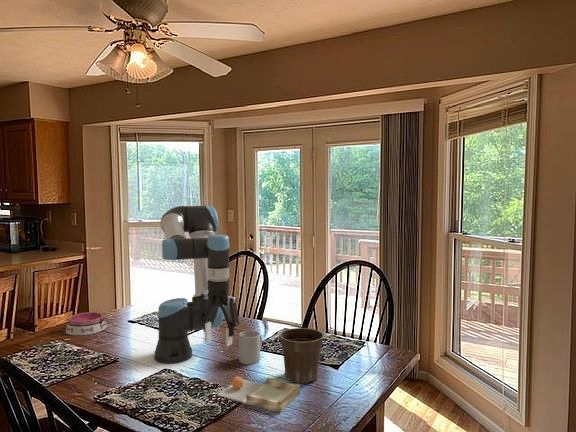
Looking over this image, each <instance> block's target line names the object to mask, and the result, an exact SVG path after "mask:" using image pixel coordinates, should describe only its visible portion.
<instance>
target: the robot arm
mask: <svg viewBox="0 0 576 432" xmlns="http://www.w3.org/2000/svg"><path fill="white" fill-rule="evenodd" d="M159 223H160V228H161V230H162V232H163V233H164V237H165V238H164V239H162V242H161V257H162V260H166V261H178V260H180V261H181V260H193V271H194V288H195V289H194V291H195V293H194V294H193V296H192V298H191V301H188V299H187V298H185V297H179V298H177V297H176V298H171V299H168V300H165V301H163V302H161V303H160V304H159V306H158V312H157V313H158V314H157V317H158V340H157V343H156V347H155V350H154V353H153V355H154V360H155V361H156V362H157V363H158V362H159V363H163V364H178V363H183V362H186V361H188V360H189V359H191V358H192V357H193V349H192V346H191V344H190V340H189V335H188V333H189V332H188V331H199V330H200V331H201V330H203V332H204V342H205V343H208V342H210V341H212V329H216V328H217V329H218V328H220V327H221V326H222V325H223V321H224V319H225V321H226V325H227V327H225V346H226V347H229V346H231V345H233V336H235V327H237V326H239V325H240V319H239V315H238V314H239V313H238V308H237V300H238V299H237V296H231V295H230V294H229V291H230V280H229V278H230V247H231V246H230V245H231V244H230V237H229V236H228V235H227V234H216V232H218V231H219V227H220V226H219V217H218V213H217V210H216V209H215V207H214V206H212V205H178V206H174V207H172V208H170V209H168V210H167V211H166V212H165V213H163V215H162V216H161V219H160V222H159ZM186 233H188V237H187V235H186Z"/></svg>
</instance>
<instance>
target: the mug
mask: <svg viewBox="0 0 576 432" xmlns="http://www.w3.org/2000/svg"><path fill="white" fill-rule="evenodd" d="M238 340H239V341H238V362H239V363H240V364H242V365H255V364H258V363H259V362H260V360H261V348H262V345H263V337H262V334H261V333H260V332H259V331H257V330H245V331H241V332H240V333H239V334H238Z"/></svg>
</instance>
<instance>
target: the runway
mask: <svg viewBox="0 0 576 432" xmlns="http://www.w3.org/2000/svg"><path fill="white" fill-rule="evenodd" d="M242 379H243V378H242ZM287 393H288V391H284V390H280V389H276V388H272V387H267V386H266V383H260V382H256V381H254V380H253V381H252V380H248V379H243V386H242V387H241V388H239V389H235V388H234V387H233V386H232V384H230V385H229V386H227V387H226V388H224V389H223V390H222V391H220V392H218V393H217V394H216V396H217V397H219V396H221V397H220V398H222V397H224V398H223V399H226V398H227V400H230V399H231V401H234V402H238V403H242V404H246V395H247V394H251V395H255V396H259V397H263V398H267V399H271V400H275V401H279V400H280V399H281V398H282V397H283V396H284V395H285V394H287ZM300 395H301V392H300V393H299V396H300ZM299 396H298V395H297V397H296V398H294V399H293V400H292V401H291V402H290V403H289V404H288V405H286V407H284V410H285V409H286V408H287V407H288V406H289V405H290V404H292V403H293V402H294V400H296V399H297V398H298V397H299ZM246 405H247V404H246ZM257 406H258V405H257ZM264 408H265V407H264ZM264 408H262V407H261V408H260V409H264ZM265 410H267V408H266V409H265ZM272 410H273V411H272V412H275V410H274V409H272ZM284 410H283V409H282V410H281V411H282V412H283V411H284ZM281 411H280V414H281V413H282V412H281ZM276 413H278V411H277V412H276Z"/></svg>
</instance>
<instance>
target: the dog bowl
mask: <svg viewBox="0 0 576 432" xmlns="http://www.w3.org/2000/svg"><path fill="white" fill-rule="evenodd" d="M107 329H108V326H107V323H106V320H105V316H104V314H103V313H101V312H96V311H89V312H88V311H87V312H86V311H85V312H80V313H76V314H73V315H71V316H70V317H69V318H68V320H67V324H66V329H65V334H66V335H68V336H73V337H84V336H85V337H86V335H87V336H92V335H97V334H100V333H103V332H104V331H106V330H107Z"/></svg>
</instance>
